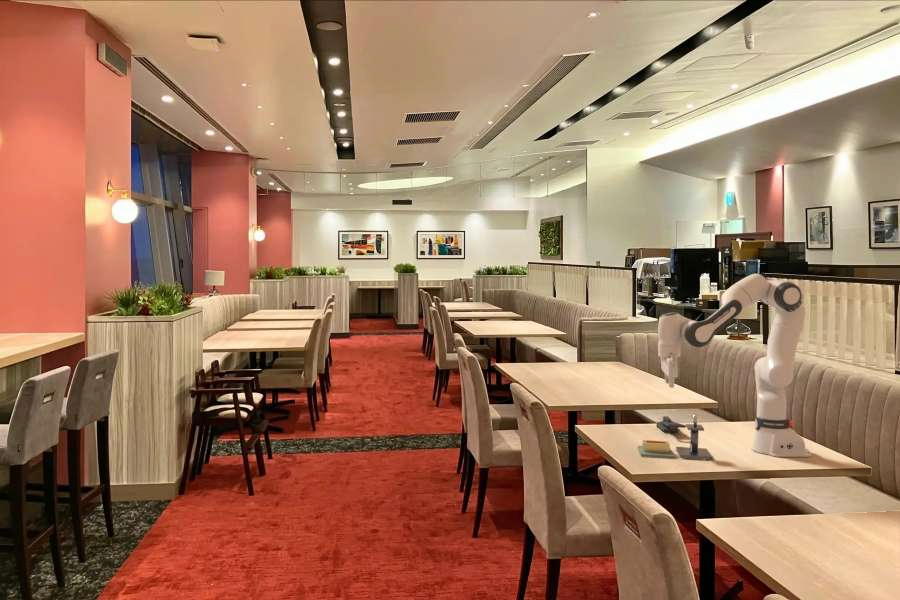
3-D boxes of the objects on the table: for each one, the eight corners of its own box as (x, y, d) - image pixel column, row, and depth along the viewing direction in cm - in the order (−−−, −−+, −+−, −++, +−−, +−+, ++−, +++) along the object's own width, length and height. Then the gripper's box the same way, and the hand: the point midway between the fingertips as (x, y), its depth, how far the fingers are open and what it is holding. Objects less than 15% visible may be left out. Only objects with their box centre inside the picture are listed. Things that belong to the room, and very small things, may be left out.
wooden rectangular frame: (667, 449, 282) (667, 441, 282) (669, 453, 277) (669, 444, 277) (642, 448, 284) (642, 439, 283) (643, 451, 279) (644, 443, 278)
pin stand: (706, 452, 283) (707, 412, 282) (712, 460, 271) (713, 419, 270) (676, 450, 285) (677, 411, 284) (680, 458, 273) (682, 417, 272)
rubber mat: (669, 449, 286) (669, 447, 286) (674, 458, 273) (674, 456, 273) (637, 447, 288) (637, 445, 288) (641, 456, 275) (641, 454, 275)
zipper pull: (666, 424, 302) (655, 412, 327) (666, 439, 302) (655, 426, 327) (687, 425, 301) (674, 413, 326) (687, 440, 301) (674, 426, 326)
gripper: (681, 355, 269) (681, 390, 270) (673, 348, 290) (673, 381, 290) (665, 355, 270) (665, 390, 271) (657, 348, 291) (658, 381, 291)
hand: (669, 385), depth 281 cm, fingers open, 8 cm apart
